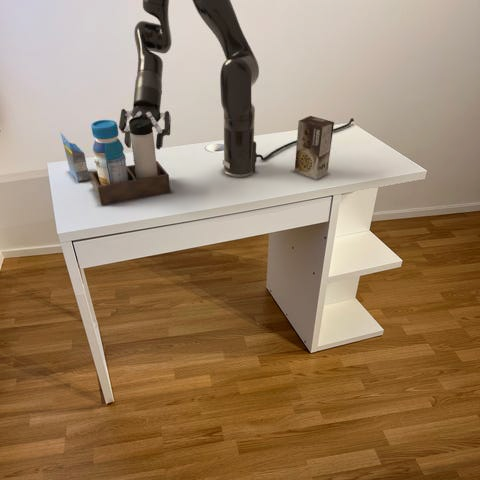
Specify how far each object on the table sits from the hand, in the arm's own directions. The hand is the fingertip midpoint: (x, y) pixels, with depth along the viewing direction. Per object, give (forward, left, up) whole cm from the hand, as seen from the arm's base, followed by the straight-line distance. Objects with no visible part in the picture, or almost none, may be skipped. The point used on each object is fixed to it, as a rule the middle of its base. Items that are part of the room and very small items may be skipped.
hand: (143, 147), depth 130 cm
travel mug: (0, 0, -12) cm, 12 cm away
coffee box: (-51, +10, -12) cm, 53 cm away
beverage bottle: (+10, 0, -12) cm, 16 cm away
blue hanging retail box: (+17, -17, -12) cm, 27 cm away
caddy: (+5, 0, -12) cm, 13 cm away
